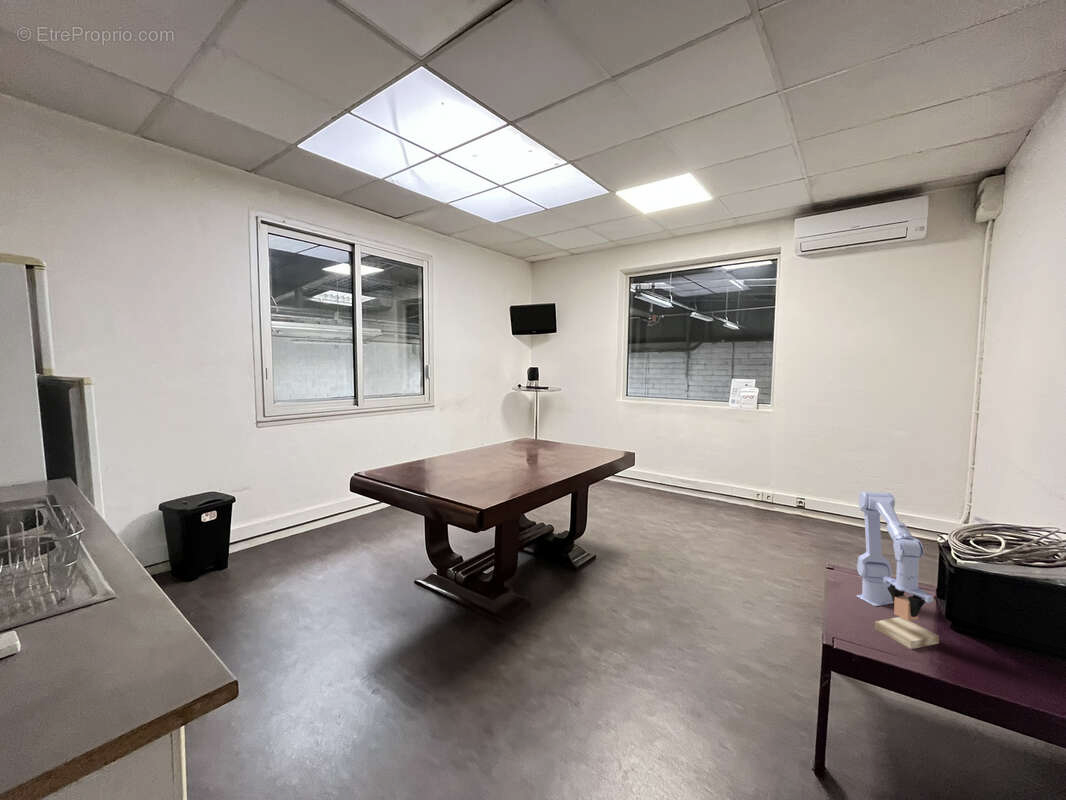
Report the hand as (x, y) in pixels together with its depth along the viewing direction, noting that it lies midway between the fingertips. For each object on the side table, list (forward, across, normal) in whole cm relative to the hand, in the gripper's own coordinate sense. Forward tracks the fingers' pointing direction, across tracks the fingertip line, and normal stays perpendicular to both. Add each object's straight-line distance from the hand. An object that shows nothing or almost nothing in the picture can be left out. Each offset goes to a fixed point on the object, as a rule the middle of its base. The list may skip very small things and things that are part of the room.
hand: (906, 612), depth 149 cm
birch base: (+9, 0, 0) cm, 9 cm away
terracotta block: (+2, 0, 0) cm, 2 cm away
